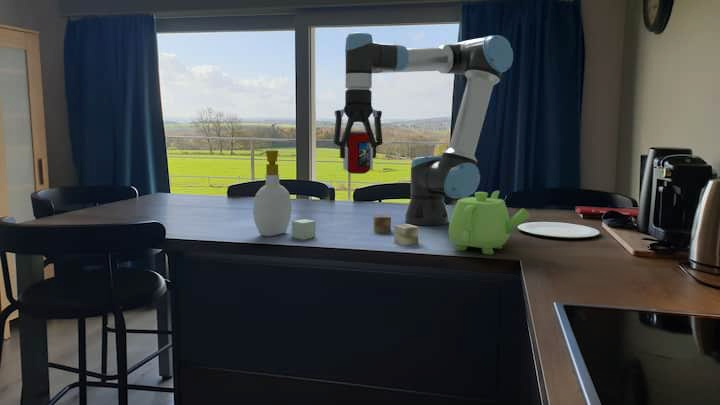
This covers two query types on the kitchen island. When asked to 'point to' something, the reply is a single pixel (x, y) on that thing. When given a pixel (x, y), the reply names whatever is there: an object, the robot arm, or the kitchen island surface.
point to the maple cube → (406, 234)
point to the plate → (558, 230)
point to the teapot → (483, 222)
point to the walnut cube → (382, 223)
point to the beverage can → (358, 152)
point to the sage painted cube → (303, 229)
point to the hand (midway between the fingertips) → (357, 169)
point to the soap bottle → (272, 201)
